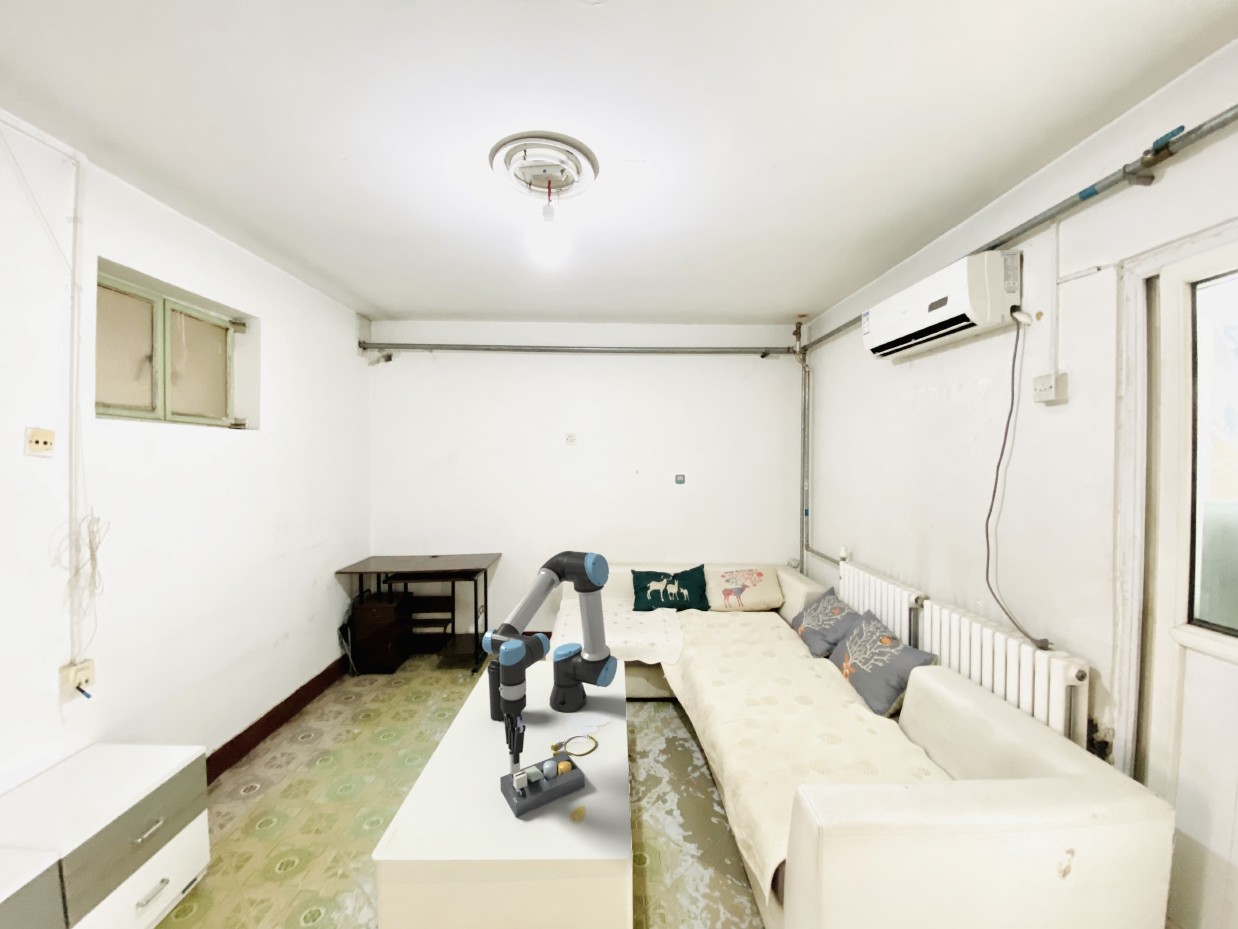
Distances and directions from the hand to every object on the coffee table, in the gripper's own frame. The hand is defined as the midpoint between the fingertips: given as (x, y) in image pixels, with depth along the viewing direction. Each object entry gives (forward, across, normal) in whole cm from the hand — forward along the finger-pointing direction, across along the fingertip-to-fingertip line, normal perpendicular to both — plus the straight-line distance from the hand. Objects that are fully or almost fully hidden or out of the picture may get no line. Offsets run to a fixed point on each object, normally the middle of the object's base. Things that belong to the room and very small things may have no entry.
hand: (514, 771), depth 143 cm
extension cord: (+7, -10, +25) cm, 28 cm away
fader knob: (+1, +5, 0) cm, 5 cm away
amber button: (+6, +3, +15) cm, 17 cm away
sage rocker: (+1, +3, +5) cm, 6 cm away
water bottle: (+7, -44, +11) cm, 46 cm away
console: (+7, +3, +8) cm, 11 cm away
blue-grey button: (+4, +3, +10) cm, 11 cm away
